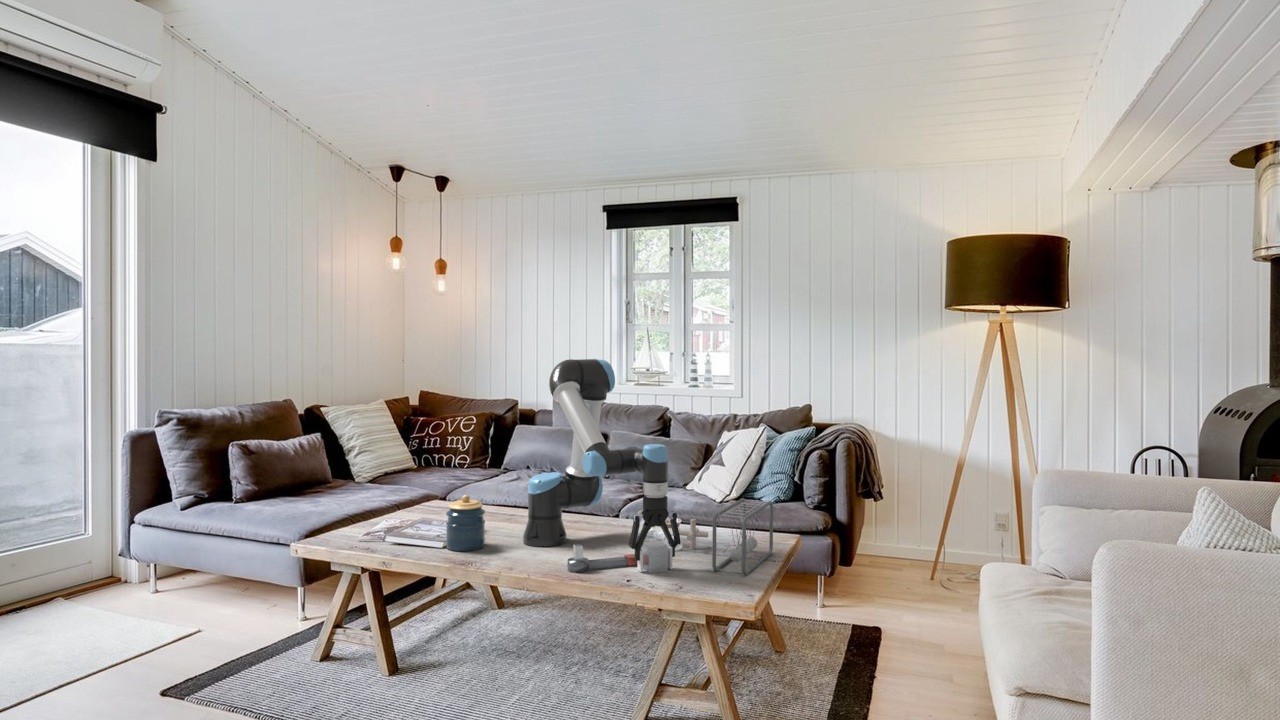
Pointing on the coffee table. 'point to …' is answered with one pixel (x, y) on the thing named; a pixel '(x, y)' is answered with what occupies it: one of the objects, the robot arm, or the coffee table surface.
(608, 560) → the ratchet
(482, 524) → the canister
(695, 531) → the beige peg jack
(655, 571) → the light grey block
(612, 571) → the coffee table surface
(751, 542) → the newton's cradle
